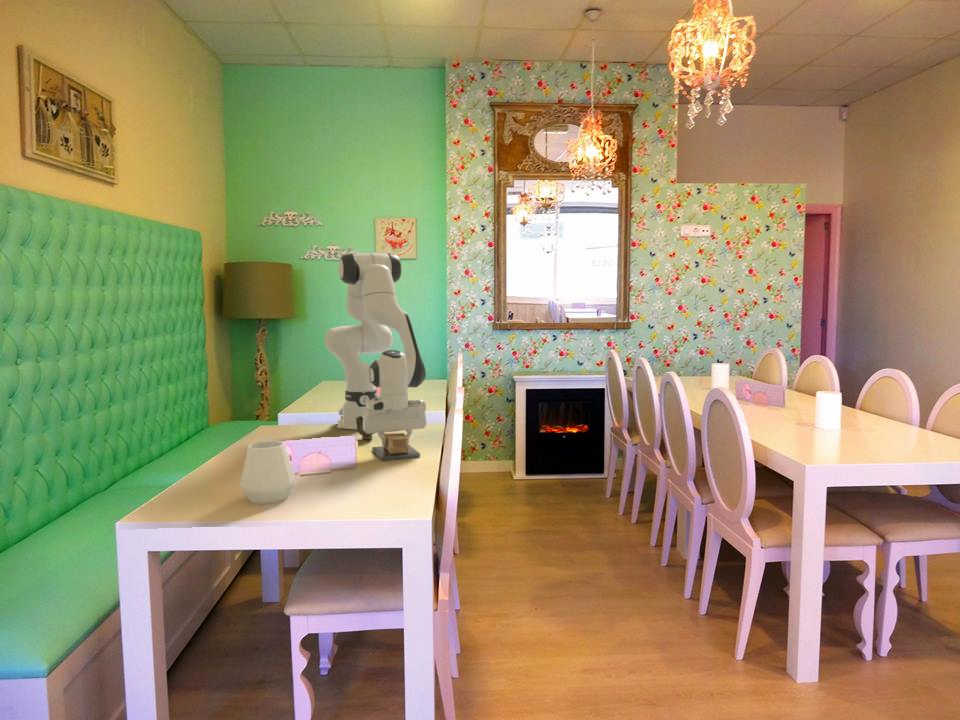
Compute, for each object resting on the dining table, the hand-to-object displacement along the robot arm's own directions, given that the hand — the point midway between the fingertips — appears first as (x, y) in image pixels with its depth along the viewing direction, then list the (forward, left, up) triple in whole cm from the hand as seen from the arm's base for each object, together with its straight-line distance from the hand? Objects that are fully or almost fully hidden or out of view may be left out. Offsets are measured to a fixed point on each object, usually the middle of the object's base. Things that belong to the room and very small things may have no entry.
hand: (395, 444), depth 208 cm
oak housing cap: (0, 0, -2) cm, 2 cm away
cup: (-24, -4, -3) cm, 24 cm away
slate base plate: (0, 0, -3) cm, 3 cm away
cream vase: (+30, -41, -3) cm, 51 cm away
